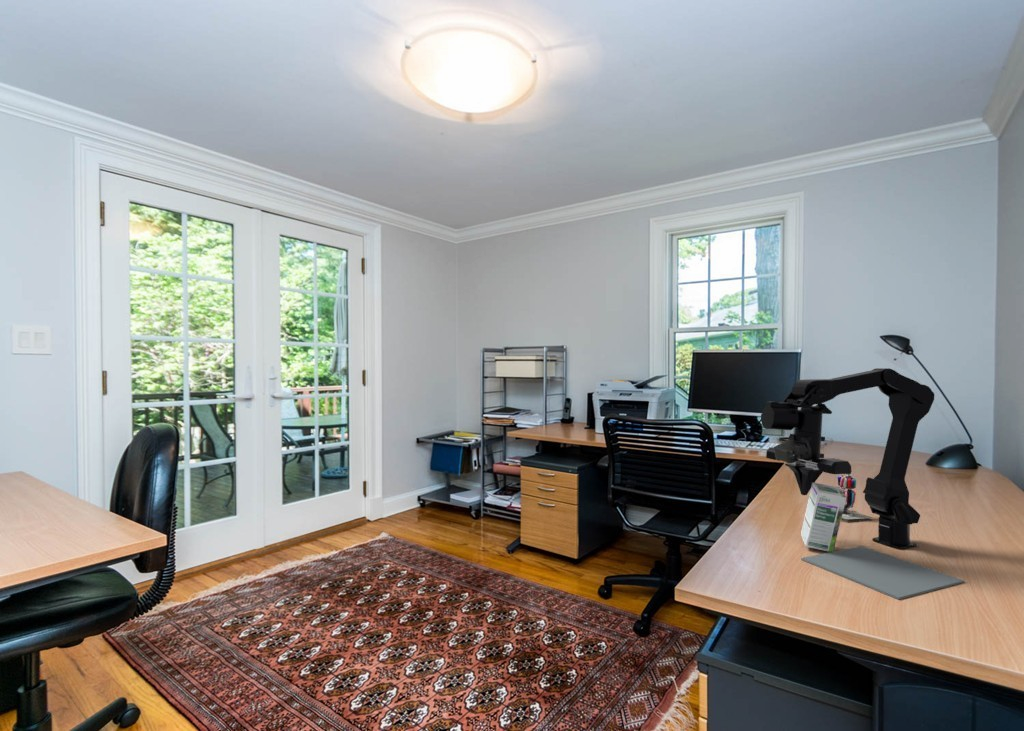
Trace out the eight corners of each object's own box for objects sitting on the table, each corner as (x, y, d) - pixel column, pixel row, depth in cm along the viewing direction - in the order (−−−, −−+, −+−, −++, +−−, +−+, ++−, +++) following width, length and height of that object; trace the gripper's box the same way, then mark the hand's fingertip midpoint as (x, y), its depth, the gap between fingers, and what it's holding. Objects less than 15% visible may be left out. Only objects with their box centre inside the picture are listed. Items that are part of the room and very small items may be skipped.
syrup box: (805, 547, 114) (818, 492, 110) (799, 533, 120) (812, 480, 116) (832, 553, 112) (847, 497, 109) (826, 539, 118) (839, 485, 114)
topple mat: (862, 547, 116) (862, 545, 116) (964, 582, 97) (964, 580, 97) (801, 559, 109) (801, 558, 109) (898, 599, 90) (898, 597, 90)
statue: (872, 524, 136) (879, 473, 135) (844, 526, 134) (851, 474, 133) (838, 508, 147) (844, 460, 145) (812, 510, 145) (818, 461, 143)
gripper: (751, 425, 124) (747, 486, 124) (818, 437, 106) (814, 508, 107) (784, 425, 128) (780, 484, 128) (854, 437, 110) (850, 505, 110)
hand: (803, 495), depth 118 cm, fingers closed
